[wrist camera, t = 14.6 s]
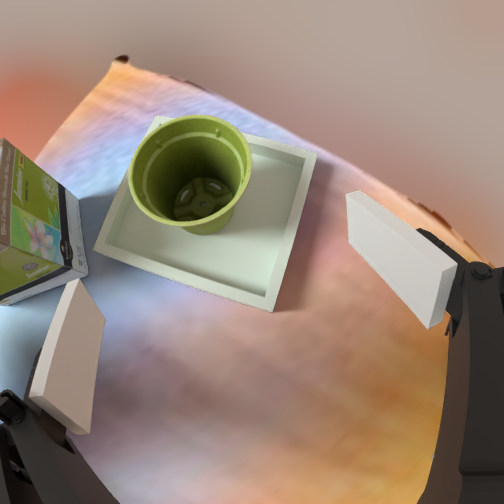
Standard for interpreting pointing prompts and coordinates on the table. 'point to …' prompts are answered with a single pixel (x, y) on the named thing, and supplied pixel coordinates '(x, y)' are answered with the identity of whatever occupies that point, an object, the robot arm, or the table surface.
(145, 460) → the table surface
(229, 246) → the sage tray
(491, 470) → the robot arm
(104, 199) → the table surface
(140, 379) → the table surface
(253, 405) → the table surface
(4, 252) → the tea box
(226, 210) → the plant pot
